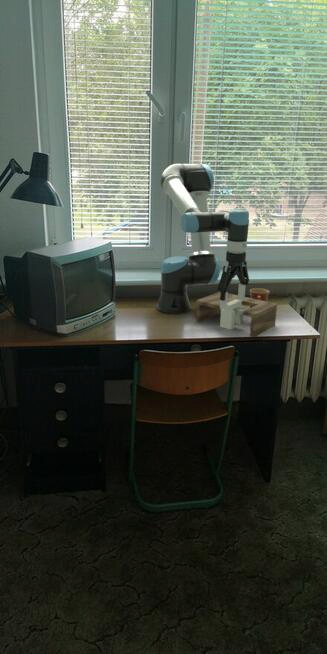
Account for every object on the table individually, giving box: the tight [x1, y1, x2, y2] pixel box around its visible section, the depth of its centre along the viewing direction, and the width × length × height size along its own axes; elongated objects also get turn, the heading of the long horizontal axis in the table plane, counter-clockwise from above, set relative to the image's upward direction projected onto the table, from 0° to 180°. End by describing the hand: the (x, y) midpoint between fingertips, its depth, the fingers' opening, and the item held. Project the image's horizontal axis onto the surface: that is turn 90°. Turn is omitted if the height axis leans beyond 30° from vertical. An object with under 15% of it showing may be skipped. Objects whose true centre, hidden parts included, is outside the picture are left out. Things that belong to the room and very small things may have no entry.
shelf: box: [195, 291, 278, 338], centre depth 204 cm, size 28×18×10 cm, turn 51°
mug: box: [249, 287, 271, 308], centre depth 217 cm, size 12×9×10 cm
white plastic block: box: [219, 299, 245, 330], centre depth 196 cm, size 5×9×10 cm, turn 141°
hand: (232, 303), depth 195 cm, fingers open, 13 cm apart
